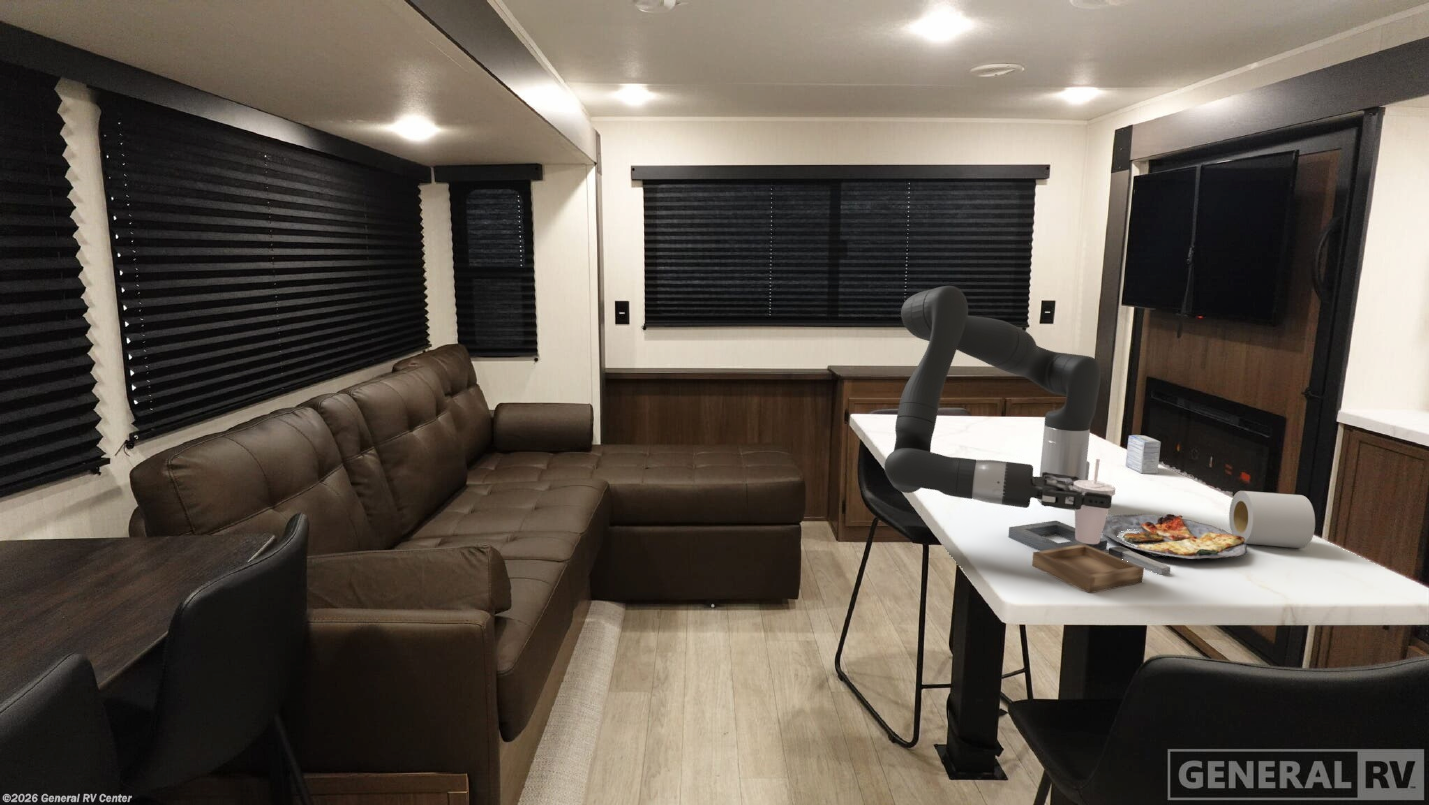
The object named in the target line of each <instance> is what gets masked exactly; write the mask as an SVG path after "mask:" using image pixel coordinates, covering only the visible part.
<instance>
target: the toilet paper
mask: <svg viewBox="0 0 1429 805" xmlns="http://www.w3.org/2000/svg"><path fill="white" fill-rule="evenodd" d="M1228 513H1229V515H1228V517H1229V518H1228V519H1229V520H1228V521H1229V528H1230V533H1231V534H1232V535H1237V536H1242V537H1244V539H1245V541H1244V543H1245V544H1246V545H1258V546H1269V547H1280V548H1290V549H1291V548H1292V549H1304V548H1307V547H1308V546H1309V545H1310V544H1311V542H1312V540H1313V538H1314V534H1315V530H1316V529H1315V528H1316V515H1315V511H1314V507H1313V504H1312V503H1311V501H1310V500H1309V499H1308V498H1307V497H1306V496H1304V495H1302V494H1288V493H1277V492H1262V491H1249V490H1239V491H1237V492H1236V493H1235V494H1234V496H1233V497H1232V499H1231V503H1230V506H1229V512H1228Z"/></svg>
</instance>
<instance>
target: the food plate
mask: <svg viewBox="0 0 1429 805" xmlns="http://www.w3.org/2000/svg"><path fill="white" fill-rule="evenodd" d="M1127 529H1128V530H1129V529H1130V530H1129V531H1128V530H1127ZM1134 529H1135V530H1134ZM1121 531H1124V532H1125V533H1124V532H1121ZM1126 531H1128V532H1126ZM1135 531H1136V532H1135ZM1138 531H1139V532H1138ZM1121 534H1123V535H1122V537H1120V536H1119V535H1121ZM1102 535H1105V536H1106V537H1108V538H1110V539H1112V541H1114V542H1117V543H1120V544H1123V545H1124V546H1127V547H1128V548H1131V549H1135V550H1138V551H1140V552H1143V553H1146V554H1147V555H1149V554H1150V555H1152V556H1153V557H1157V558H1158V557H1161V556H1163V557H1168V556H1169V557H1173V558H1180V559H1188V560H1189V559H1191V560H1194V559H1197V560H1200V559H1218V558H1219V559H1220V558H1228V557H1239V556H1245V555H1246V554H1247V553H1248V550H1247V548H1248V544H1245V543H1244V541H1245V539H1244V537H1242V536H1237V535H1232V533H1231V532H1228V531H1227V530H1224V529H1221V528H1220V527H1216V526H1213V525H1211V524H1207V523H1202V522H1198V521H1194V520H1191V519H1187V518H1183V516H1182V515H1175V514H1173V513H1172V514H1171V513H1167V514H1166V515H1153V514H1152V515H1151V514H1145V513H1141V514H1139V513H1138V514H1120V515H1117V514H1116V515H1114V514H1113V515H1107V517H1106V521H1105V524H1104V528H1103V531H1102ZM1117 536H1119V537H1117ZM1135 545H1137V546H1135Z"/></svg>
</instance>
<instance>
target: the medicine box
mask: <svg viewBox="0 0 1429 805" xmlns="http://www.w3.org/2000/svg"><path fill="white" fill-rule="evenodd" d="M1161 444H1162V442H1161V441H1159V440H1157V439H1155V438H1153V437H1149V436H1147V435H1140V434H1133V435H1128V440H1127V448H1126V457H1125V467H1127V468H1129V469H1131V470H1133V471H1136V472H1137V473H1139V474H1142V475H1143V474H1144V475H1146V474H1147V475H1157V474H1158V472H1159V464H1160V462H1159V461H1160V453H1161V452H1160V451H1161Z"/></svg>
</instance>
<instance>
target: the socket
mask: <svg viewBox="0 0 1429 805" xmlns="http://www.w3.org/2000/svg"><path fill="white" fill-rule="evenodd" d="M1053 535H1054V536H1055V535H1056V536H1059V537H1061V538H1064V539H1066V540H1068V541H1062V542H1056V541H1054V540H1052V539H1049V538H1046V536H1047V537H1049V536H1053ZM1007 537H1008V538H1010V539H1012V540H1014V541H1016V542H1019V543H1021V544H1023V545H1025V546H1027V547H1030V548H1031V549H1032V548H1033V549H1034V550H1037V551H1044V550H1051V549H1057V548H1063V547H1069V546H1075V545H1082V544H1085V545H1088V546H1090V547H1093V548H1095V549H1098V550H1100V551H1103V552H1106V551H1107V547H1108V539H1105V538H1103V537H1101V539H1100V542H1099V543H1098V544H1087V543H1082V542H1080V541H1077V540H1076V539H1075V526H1071V525H1068V524H1066V523H1064V522H1061V521H1058V520H1051V521H1049V520H1048V521H1043V522H1042V521H1041V522H1036V523H1029V524H1028V523H1027V524H1023V525H1015V526H1009V527H1008V536H1007Z"/></svg>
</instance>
